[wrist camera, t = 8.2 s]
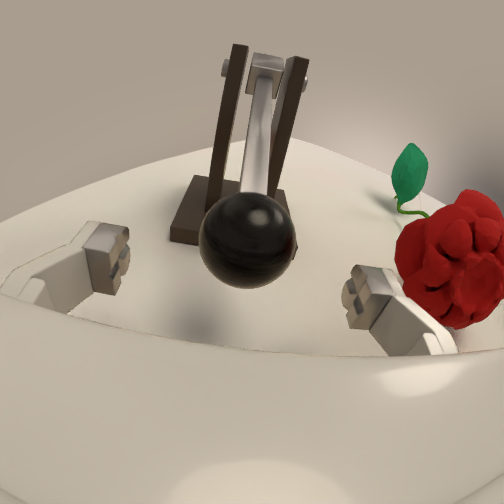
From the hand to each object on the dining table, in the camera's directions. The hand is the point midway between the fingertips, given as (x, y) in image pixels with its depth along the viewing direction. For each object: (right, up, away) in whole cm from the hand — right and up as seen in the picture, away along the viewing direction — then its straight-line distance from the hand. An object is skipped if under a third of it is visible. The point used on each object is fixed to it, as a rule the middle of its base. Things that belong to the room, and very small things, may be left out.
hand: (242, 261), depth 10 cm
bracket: (-1, +3, +15) cm, 15 cm away
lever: (0, +6, +6) cm, 8 cm away
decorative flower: (+20, 0, +17) cm, 26 cm away
